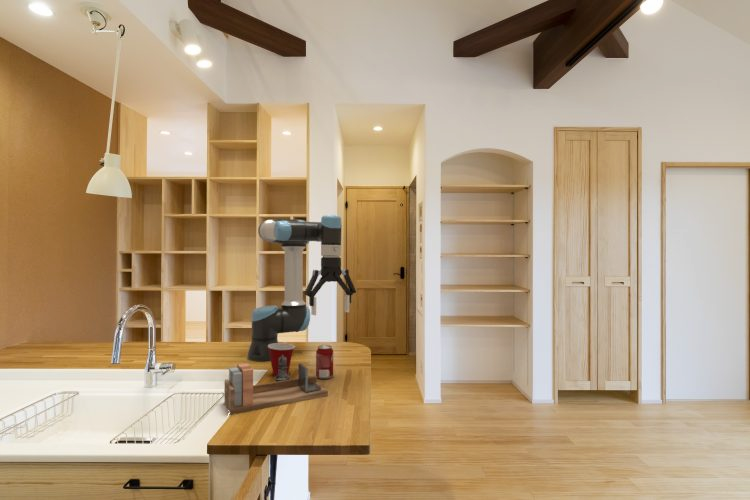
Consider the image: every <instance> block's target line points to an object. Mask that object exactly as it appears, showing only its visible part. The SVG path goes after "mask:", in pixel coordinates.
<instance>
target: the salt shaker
mask: <svg viewBox="0 0 750 500" xmlns="http://www.w3.org/2000/svg"><path fill="white" fill-rule="evenodd" d="M286 363H287V359H286V357H284V355H283V354H282V357H280V358H279V366H278V375H277V376H274V378H273V379H274V382H278V381H284V380H290V379H291V378H292V377H291V375H289V374H288V375H287V366H286Z"/></svg>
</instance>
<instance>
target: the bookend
mask: <svg viewBox="0 0 750 500" xmlns="http://www.w3.org/2000/svg"><path fill="white" fill-rule="evenodd" d="M297 375H298V376H297V378H298V386H299V387H300V388H301V389H302V390H303V391H304V392H310V391H316V390H321V388H320V387H319V386H318V385H316V384H315V383H314V382H313V383H308V376H309V368H308V367H306V366H305V365H303V364H302V363H298V374H297Z"/></svg>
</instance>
